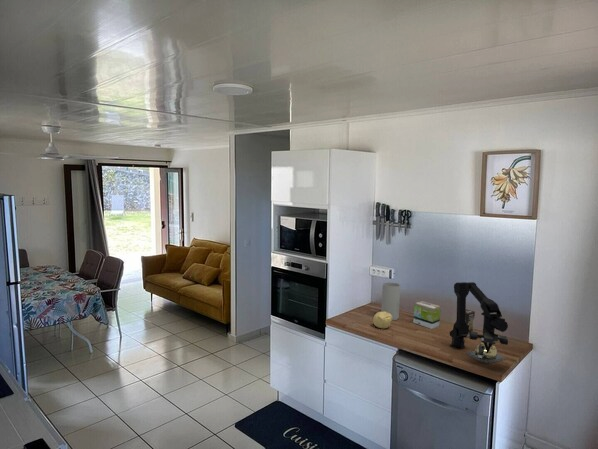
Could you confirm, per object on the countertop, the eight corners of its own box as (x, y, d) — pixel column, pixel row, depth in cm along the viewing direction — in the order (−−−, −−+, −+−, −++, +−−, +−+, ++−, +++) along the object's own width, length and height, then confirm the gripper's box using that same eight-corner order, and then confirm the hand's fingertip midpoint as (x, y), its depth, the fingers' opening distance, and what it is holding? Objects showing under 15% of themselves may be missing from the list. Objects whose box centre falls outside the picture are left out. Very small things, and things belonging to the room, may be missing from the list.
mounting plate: (466, 354, 234) (467, 352, 233) (484, 350, 240) (485, 348, 240) (486, 364, 222) (486, 361, 222) (504, 359, 229) (504, 356, 228)
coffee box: (465, 338, 260) (467, 313, 258) (456, 334, 265) (458, 310, 263) (473, 335, 265) (475, 311, 263) (464, 332, 270) (466, 308, 268)
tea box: (412, 323, 285) (413, 302, 283) (420, 320, 292) (421, 300, 290) (432, 329, 274) (433, 308, 272) (439, 326, 280) (441, 305, 279)
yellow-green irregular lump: (478, 348, 239) (479, 335, 238) (498, 354, 232) (499, 340, 231) (469, 358, 225) (470, 344, 224) (490, 363, 218) (491, 349, 217)
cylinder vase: (383, 314, 303) (385, 281, 301) (400, 317, 298) (402, 283, 295) (379, 319, 292) (380, 285, 289) (396, 322, 287) (398, 287, 284)
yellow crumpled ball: (382, 331, 268) (383, 315, 266) (369, 325, 277) (370, 310, 276) (394, 328, 274) (395, 312, 273) (381, 322, 284) (381, 307, 283)
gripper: (470, 327, 216) (468, 355, 217) (509, 332, 208) (507, 362, 210) (470, 320, 226) (469, 347, 227) (508, 326, 218) (506, 353, 220)
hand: (487, 352), depth 221 cm, fingers closed
